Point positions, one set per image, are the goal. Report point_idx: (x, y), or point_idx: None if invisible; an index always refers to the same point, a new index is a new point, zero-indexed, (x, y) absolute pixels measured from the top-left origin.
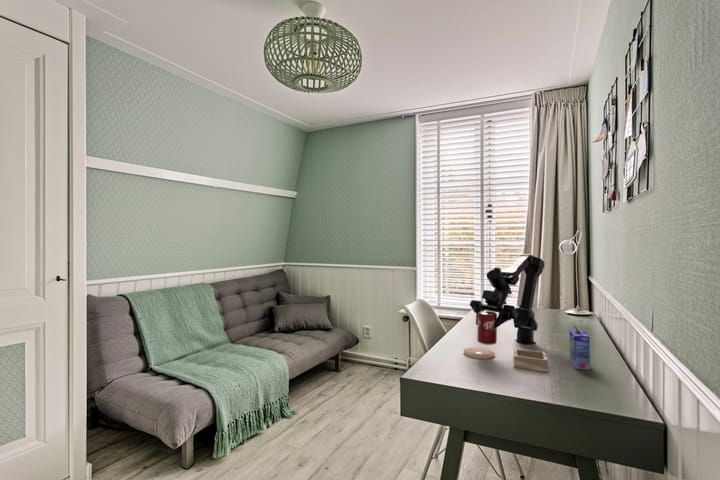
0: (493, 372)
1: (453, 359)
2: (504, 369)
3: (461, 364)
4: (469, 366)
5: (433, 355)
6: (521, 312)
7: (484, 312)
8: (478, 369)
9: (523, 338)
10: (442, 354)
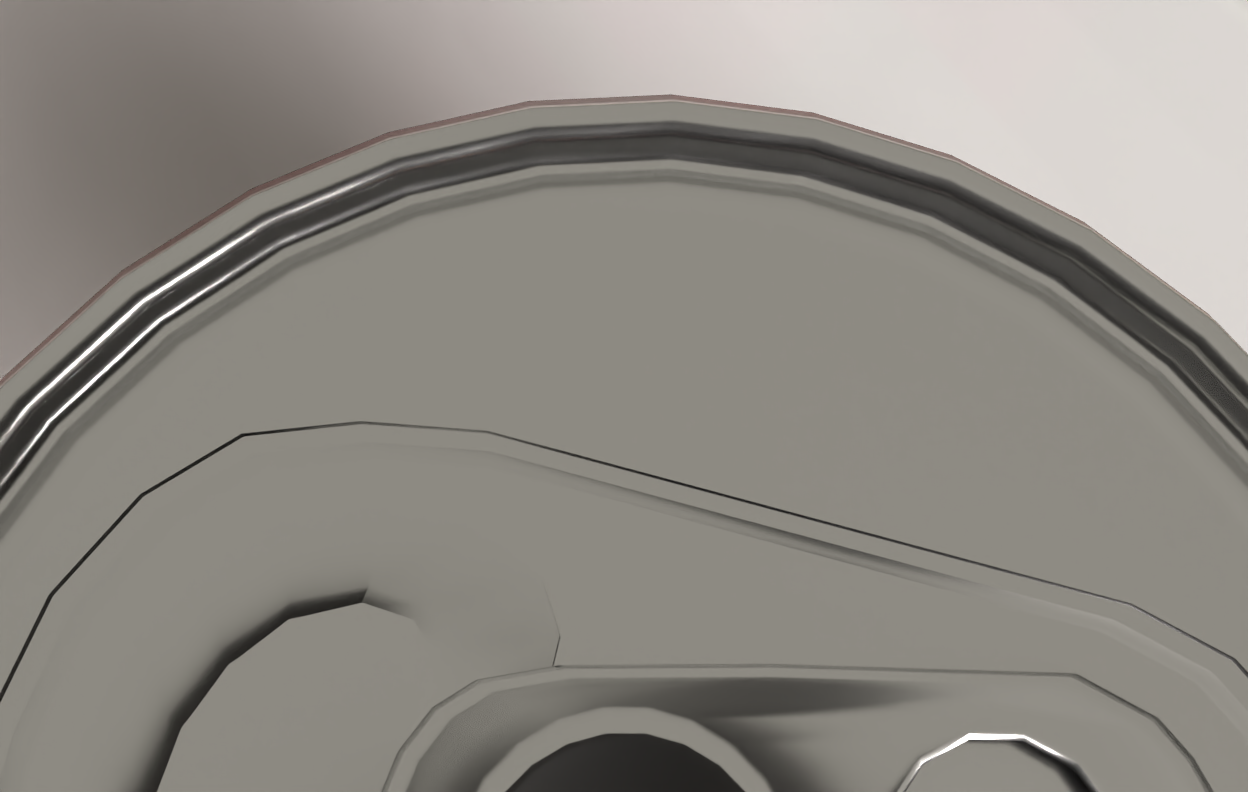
0: (99, 81)
1: (885, 122)
2: (24, 337)
3: (639, 20)
4: (501, 36)
5: (1229, 40)
6: None
7: (908, 762)
8: (330, 26)
9: None
10: (1195, 197)
